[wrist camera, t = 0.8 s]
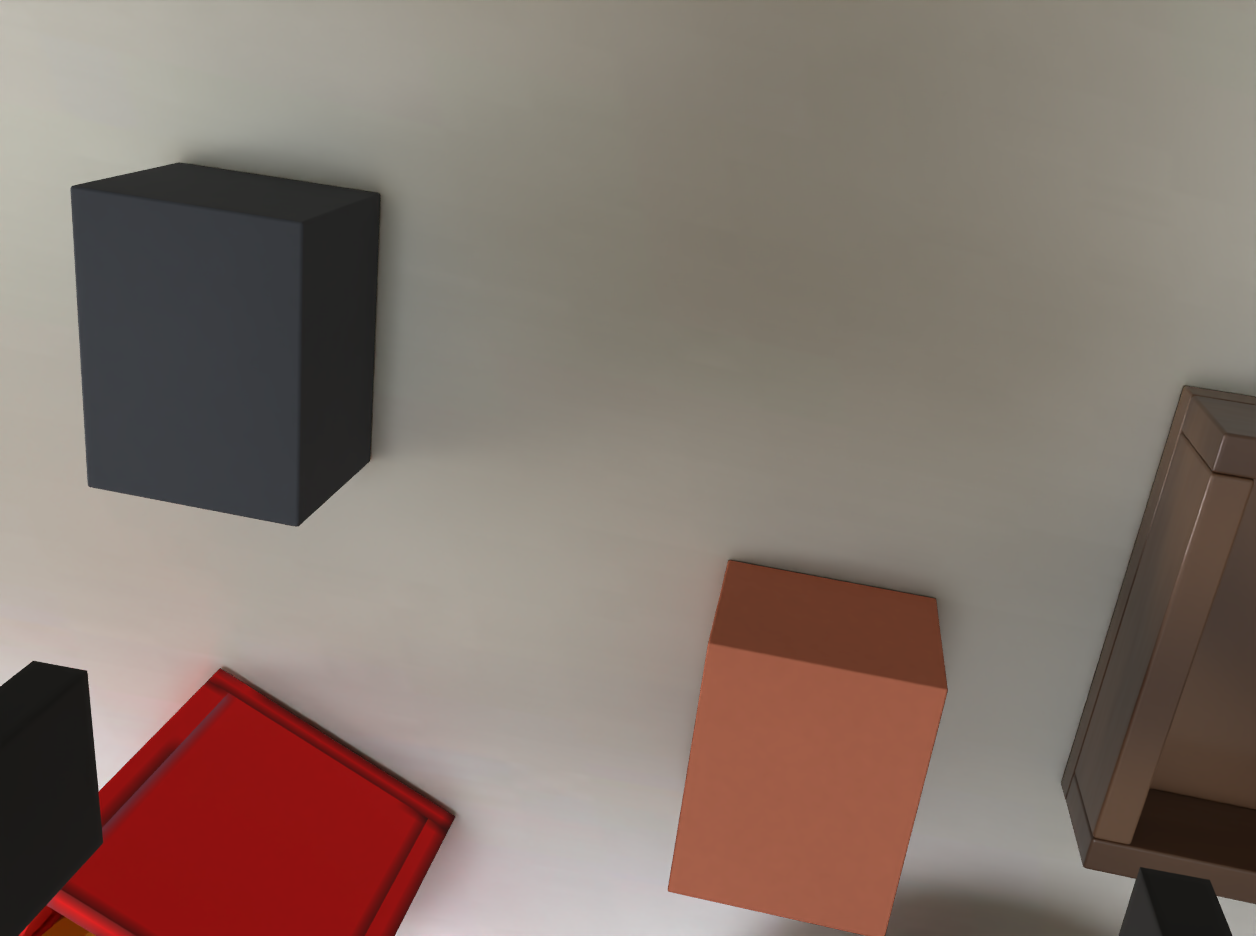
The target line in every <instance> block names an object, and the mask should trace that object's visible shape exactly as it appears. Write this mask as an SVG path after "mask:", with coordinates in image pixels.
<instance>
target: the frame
mask: <svg viewBox="0 0 1256 936" xmlns="http://www.w3.org/2000/svg"><path fill="white" fill-rule="evenodd" d="M1061 785H1062V789H1063V792H1064V796H1065V799H1066V802H1067V806H1068V810H1069V814H1070V818H1071V822H1072V825H1073V829H1074V833H1075V837H1076V841H1077V845H1078V848H1079V852H1080V856H1081V860H1082V864H1083V867H1085V868H1087V869H1092V870H1097V871H1102V872H1106V873H1111V874H1116V875H1121V876H1125V877H1130V878H1135V879H1136V878H1137V875H1138V872H1139V868H1140V867H1144V868H1149V869H1154V870H1160V871H1165V872H1170V873H1176V874H1181V875H1187V876H1192V877H1197V878H1203V879H1208V880H1210V881H1211V884H1212V886H1213V889H1214V891H1215V894H1216V896H1220V897H1225V898H1229V899H1234V900H1239V901H1243V902H1248V903H1253V904H1256V397H1252V396H1246V395H1239V394H1233V393H1227V392H1221V391H1215V390H1208V389H1202V388H1196V387H1190V386H1184V388H1183V391H1182V394H1181V397H1180V400H1179V403H1178V407H1177V410H1176V413H1175V416H1174V420H1173V423H1172V426H1171V429H1170V433H1169V436H1168V439H1167V442H1166V446H1165V449H1164V452H1163V455H1162V459H1161V462H1160V465H1159V468H1158V472H1157V475H1156V478H1155V481H1154V485H1153V488H1152V491H1151V494H1150V498H1149V501H1148V504H1147V507H1146V511H1145V514H1144V517H1143V520H1142V524H1141V527H1140V530H1139V533H1138V537H1137V540H1136V543H1135V546H1134V550H1133V553H1132V556H1131V559H1130V562H1129V566H1128V569H1127V572H1126V575H1125V579H1124V582H1123V585H1122V588H1121V592H1120V595H1119V598H1118V601H1117V605H1116V608H1115V611H1114V614H1113V618H1112V621H1111V624H1110V627H1109V631H1108V634H1107V637H1106V640H1105V644H1104V647H1103V650H1102V653H1101V657H1100V660H1099V663H1098V666H1097V670H1096V673H1095V676H1094V679H1093V683H1092V686H1091V689H1090V692H1089V696H1088V699H1087V702H1086V705H1085V709H1084V712H1083V715H1082V718H1081V721H1080V725H1079V728H1078V731H1077V734H1076V738H1075V741H1074V744H1073V747H1072V751H1071V754H1070V757H1069V760H1068V764H1067V767H1066V770H1065V773H1064V777H1063V780H1062V783H1061Z"/></svg>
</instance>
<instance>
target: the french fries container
mask: <svg viewBox="0 0 1256 936" xmlns="http://www.w3.org/2000/svg"><path fill="white" fill-rule="evenodd" d="M99 802H100V813H101V824H102V834H103V844H102V845H101V846H100V847H99V848H98V849H97V850H96V851H95V853H94V854H93V855H92V856H91V857H90V858H89V859H88V860H87V861H86V862H85V864H84V865H83V866H82V867H81V868H80V869H79V870H78V871H77V872H76V873H75V874H74V876H73V877H72V878H71V879H70V880H69V881H68V882H67V883H66V884H65V885H64V886H63V888H62V889H61V890H60V891H59V892H58V893H57V894H56V895H55V896H54V897H53V899H52V900H51V901H50V902H49V903H48V904H47V905H46V906H45V907H44V908H43V909H42V911H41V912H40V913H39V914H38V915H37V916H36V917H35V918H34V919H33V920H32V921H31V923H30V924H29V925H28V926H27V927H26V928H25V929H24V930H23V931H22V932H21V934H20V935H19V936H395V934H396V932H397V930H398V928H399V926H400V924H401V922H402V920H403V918H404V916H405V914H406V913H407V911H408V909H409V907H410V905H411V903H412V901H413V899H414V897H415V895H416V893H417V891H418V889H419V887H420V885H421V883H422V881H423V879H424V877H425V875H426V873H427V871H428V869H429V867H430V865H431V863H432V861H433V859H434V858H435V856H436V854H437V852H438V850H439V848H440V846H441V844H442V842H443V840H444V838H445V836H446V834H447V832H448V830H449V828H450V826H451V824H452V822H453V820H454V818H455V816H454V815H452V814H450V813H449V812H447V811H446V810H444V809H442V808H441V807H439V806H438V805H436V804H435V803H433V802H431V801H430V800H428V799H427V798H425V797H423V796H422V795H420V794H419V793H417V792H416V791H414V790H412V789H411V788H409V787H408V786H406V785H404V784H403V783H401V782H400V781H398V780H397V779H395V778H393V777H392V776H390V775H389V774H387V773H385V772H384V771H382V770H381V769H379V768H378V767H376V766H374V765H373V764H371V763H370V762H368V761H366V760H365V759H363V758H362V757H360V756H359V755H357V754H355V753H354V752H352V751H351V750H349V749H347V748H346V747H344V746H343V745H341V744H339V743H338V742H336V741H335V740H333V739H332V738H330V737H328V736H327V735H325V734H324V733H322V732H320V731H319V730H317V729H316V728H314V727H313V726H311V725H309V724H308V723H306V722H305V721H303V720H301V719H300V718H298V717H297V716H295V715H294V714H292V713H290V712H289V711H287V710H286V709H284V708H282V707H281V706H279V705H278V704H276V703H275V702H273V701H271V700H270V699H268V698H267V697H265V696H263V695H262V694H260V693H259V692H257V691H256V690H254V689H252V688H251V687H249V686H248V685H246V684H244V683H243V682H241V681H240V680H238V679H237V678H235V677H233V676H232V675H230V674H229V673H227V672H225V671H224V670H222V669H221V668H220V669H219V670H218V671H217V672H216V673H215V674H214V675H213V676H212V677H211V678H210V679H209V680H208V681H207V682H206V683H205V684H204V685H203V686H202V687H201V688H200V689H199V690H198V691H197V692H196V693H195V694H194V695H193V696H192V697H191V698H190V699H189V700H188V701H187V702H186V703H185V704H184V705H183V706H182V707H181V709H180V710H179V711H178V712H177V713H176V714H175V715H174V716H173V717H172V718H171V719H170V720H169V721H168V722H167V723H166V724H165V725H164V726H163V727H162V728H161V729H160V730H159V731H158V732H157V733H156V734H155V735H154V736H153V737H152V738H151V739H150V740H149V741H148V742H147V743H146V744H145V745H144V746H143V747H142V748H141V749H140V750H139V751H138V752H137V753H136V754H135V755H134V756H133V757H132V758H131V759H130V760H129V761H128V762H127V763H126V764H125V765H124V766H123V767H122V768H121V769H120V770H119V772H118V773H117V774H116V775H115V776H114V777H113V778H112V779H111V780H110V781H109V782H108V783H107V784H106V785H105V786H104V787H103V788H102V789H101V790H100V791H99Z"/></svg>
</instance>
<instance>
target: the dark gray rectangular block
mask: <svg viewBox="0 0 1256 936" xmlns="http://www.w3.org/2000/svg"><path fill="white" fill-rule="evenodd" d="M71 204H72V222H73V239H74V256H75V273H76V290H77V307H78V325H79V342H80V359H81V376H82V393H83V410H84V428H85V445H86V462H87V479H88V486H89V487H93V488H98V489H103V490H108V491H114V492H119V493H124V494H129V495H134V496H140V497H145V498H150V499H155V500H160V501H166V502H171V503H176V504H181V505H187V506H192V507H197V508H202V509H207V510H213V511H218V512H223V513H228V514H233V515H239V516H244V517H249V518H254V519H259V520H265V521H270V522H275V523H280V524H285V525H291V526H299V525H300V524H301V523H303V522H304V521H305V520H306V519H307V518H308V517H309V516H310V515H311V514H312V513H314V512H315V511H316V510H317V509H318V508H319V507H320V506H321V505H322V504H323V503H325V502H326V501H327V500H328V499H329V498H330V497H331V496H332V495H333V494H334V493H335V492H337V491H338V490H339V489H340V488H341V487H342V486H343V485H344V484H345V483H346V482H348V481H349V480H350V479H351V478H352V477H353V476H354V475H355V474H356V473H357V472H359V471H360V470H361V469H362V468H363V467H364V466H365V465H366V464H367V463H368V462H369V461H370V445H371V419H372V393H373V367H374V341H375V315H376V289H377V263H378V237H379V211H380V194H378V193H374V192H368V191H361V190H355V189H348V188H342V187H335V186H329V185H322V184H316V183H309V182H303V181H296V180H290V179H283V178H277V177H270V176H264V175H257V174H251V173H244V172H238V171H231V170H224V169H218V168H211V167H205V166H198V165H192V164H185V163H175V164H170V165H166V166H161V167H156V168H152V169H147V170H143V171H138V172H134V173H129V174H124V175H120V176H115V177H111V178H106V179H101V180H97V181H92V182H88V183H83V184H79V185H74V186H72V187H71Z"/></svg>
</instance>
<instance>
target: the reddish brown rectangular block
mask: <svg viewBox="0 0 1256 936" xmlns="http://www.w3.org/2000/svg"><path fill="white" fill-rule="evenodd" d="M947 691H948V689H947V681H946V673H945V665H944V657H943V649H942V642H941V634H940V626H939V618H938V610H937V602H936V599H935V598H929V597H924V596H919V595H913V594H908V593H902V592H897V591H892V590H886V589H881V588H876V587H870V586H865V585H860V584H854V583H849V582H844V581H838V580H833V579H828V578H822V577H817V576H811V575H806V574H801V573H795V572H790V571H785V570H779V569H774V568H769V567H763V566H758V565H753V564H747V563H742V562H736V561H731V560H729V561H728V564H727V568H726V572H725V576H724V580H723V585H722V589H721V593H720V597H719V601H718V605H717V609H716V613H715V617H714V622H713V626H712V630H711V634H710V638H709V642H708V647H707V653H706V660H705V666H704V672H703V678H702V684H701V690H700V696H699V702H698V708H697V714H696V721H695V727H694V733H693V739H692V745H691V751H690V757H689V763H688V769H687V775H686V782H685V788H684V794H683V800H682V806H681V812H680V818H679V824H678V830H677V836H676V843H675V849H674V855H673V861H672V867H671V873H670V879H669V885H668V891H669V892H673V893H677V894H682V895H686V896H691V897H695V898H700V899H704V900H709V901H713V902H718V903H722V904H727V905H731V906H736V907H740V908H745V909H749V910H754V911H758V912H762V913H767V914H771V915H776V916H780V917H785V918H789V919H794V920H798V921H803V922H807V923H812V924H816V925H821V926H825V927H830V928H834V929H839V930H843V931H847V932H852V933H856V934H861V935H865V936H885V934H886V930H887V926H888V922H889V918H890V914H891V911H892V907H893V903H894V899H895V895H896V891H897V887H898V883H899V879H900V875H901V871H902V868H903V864H904V860H905V856H906V852H907V848H908V844H909V840H910V836H911V832H912V828H913V824H914V821H915V817H916V813H917V809H918V805H919V801H920V797H921V793H922V789H923V785H924V781H925V778H926V774H927V770H928V766H929V762H930V758H931V754H932V750H933V746H934V742H935V738H936V734H937V731H938V727H939V723H940V719H941V715H942V711H943V707H944V703H945V699H946V695H947Z"/></svg>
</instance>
